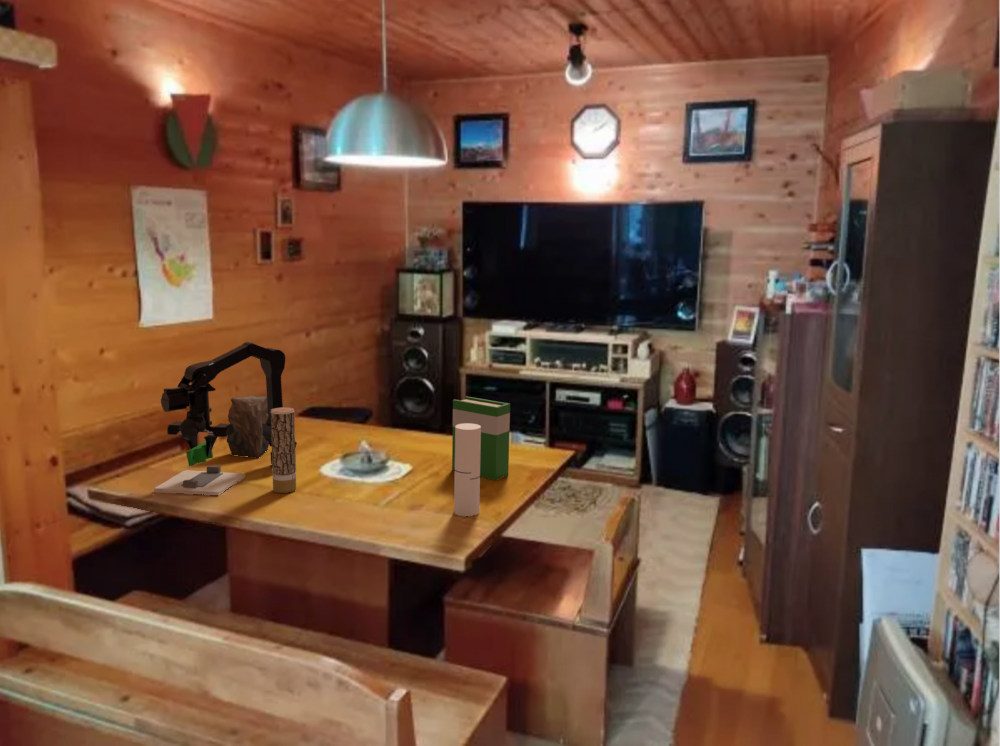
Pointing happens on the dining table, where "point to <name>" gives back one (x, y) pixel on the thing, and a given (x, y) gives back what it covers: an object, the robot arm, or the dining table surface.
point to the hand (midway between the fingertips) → (201, 456)
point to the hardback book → (486, 433)
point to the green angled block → (198, 454)
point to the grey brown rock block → (248, 426)
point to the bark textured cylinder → (283, 449)
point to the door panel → (200, 482)
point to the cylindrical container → (467, 469)
